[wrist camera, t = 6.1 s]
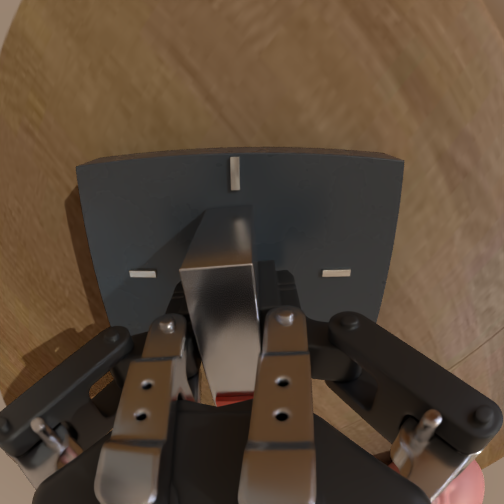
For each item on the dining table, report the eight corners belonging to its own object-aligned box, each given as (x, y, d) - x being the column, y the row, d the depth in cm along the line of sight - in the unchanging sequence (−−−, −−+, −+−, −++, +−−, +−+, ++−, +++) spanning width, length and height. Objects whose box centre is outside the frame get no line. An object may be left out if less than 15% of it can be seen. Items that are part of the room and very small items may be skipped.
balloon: (469, 382, 23) (528, 499, 9) (456, 449, 30) (485, 526, 16) (332, 443, 26) (353, 577, 12) (363, 488, 33) (378, 570, 19)
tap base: (130, 326, 19) (117, 352, 17) (98, 158, 14) (73, 167, 12) (357, 326, 19) (369, 353, 17) (383, 152, 14) (406, 161, 12)
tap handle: (206, 208, 13) (175, 273, 8) (253, 204, 13) (253, 268, 8) (226, 329, 16) (216, 419, 11) (264, 326, 16) (268, 417, 10)
